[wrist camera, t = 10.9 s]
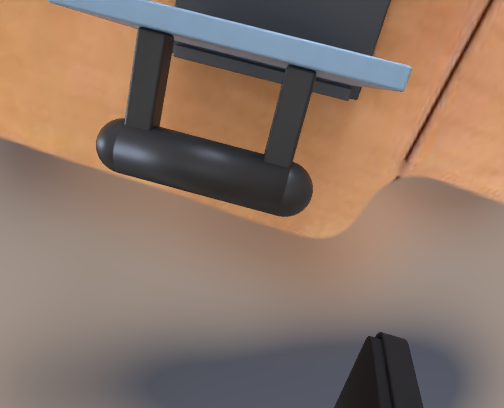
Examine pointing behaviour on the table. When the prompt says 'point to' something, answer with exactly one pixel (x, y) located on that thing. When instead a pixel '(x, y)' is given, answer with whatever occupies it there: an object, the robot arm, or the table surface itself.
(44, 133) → the table surface
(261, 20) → the dark rectangular box base
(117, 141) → the handled blue panel
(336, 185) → the table surface
